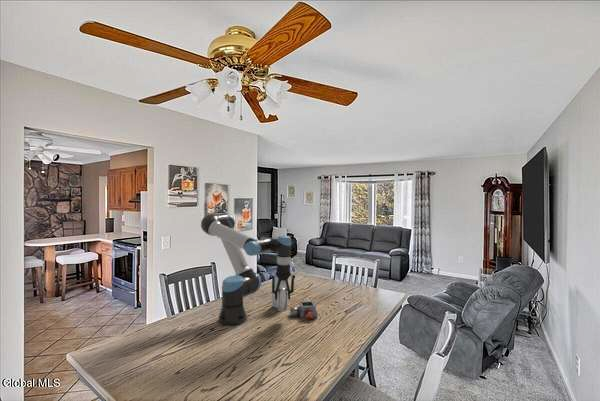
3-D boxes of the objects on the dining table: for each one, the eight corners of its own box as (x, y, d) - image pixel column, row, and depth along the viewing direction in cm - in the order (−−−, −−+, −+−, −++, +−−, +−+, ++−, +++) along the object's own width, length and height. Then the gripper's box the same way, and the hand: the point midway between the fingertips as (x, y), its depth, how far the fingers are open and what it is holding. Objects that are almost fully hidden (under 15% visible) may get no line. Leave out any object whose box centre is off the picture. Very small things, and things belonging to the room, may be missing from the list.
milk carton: (279, 309, 177) (280, 278, 177) (271, 306, 181) (271, 276, 181) (287, 305, 183) (287, 276, 183) (278, 303, 187) (279, 274, 187)
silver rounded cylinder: (278, 311, 158) (279, 290, 158) (277, 308, 163) (278, 287, 162) (286, 311, 159) (287, 289, 159) (285, 308, 163) (286, 287, 163)
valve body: (292, 321, 160) (292, 309, 160) (289, 312, 172) (289, 302, 172) (318, 319, 162) (318, 308, 162) (314, 311, 174) (314, 300, 174)
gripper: (268, 265, 155) (266, 308, 156) (300, 265, 158) (298, 307, 158) (267, 262, 163) (266, 303, 163) (298, 262, 166) (296, 302, 166)
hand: (282, 305), depth 161 cm, fingers closed on silver rounded cylinder, 5 cm apart
